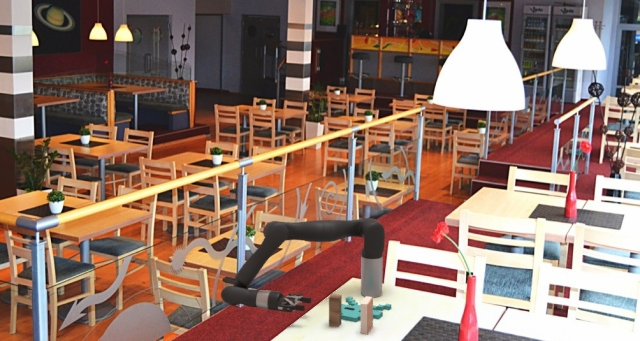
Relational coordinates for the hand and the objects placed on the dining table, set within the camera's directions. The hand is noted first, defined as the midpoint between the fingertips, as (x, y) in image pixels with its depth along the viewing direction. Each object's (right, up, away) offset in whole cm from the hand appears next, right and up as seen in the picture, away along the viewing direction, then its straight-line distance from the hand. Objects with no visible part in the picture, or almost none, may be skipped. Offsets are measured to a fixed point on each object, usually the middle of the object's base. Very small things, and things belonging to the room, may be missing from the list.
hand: (308, 304), depth 326 cm
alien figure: (+21, -6, +11) cm, 24 cm away
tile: (+23, -9, -6) cm, 25 cm away
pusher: (+11, -8, -2) cm, 13 cm away
